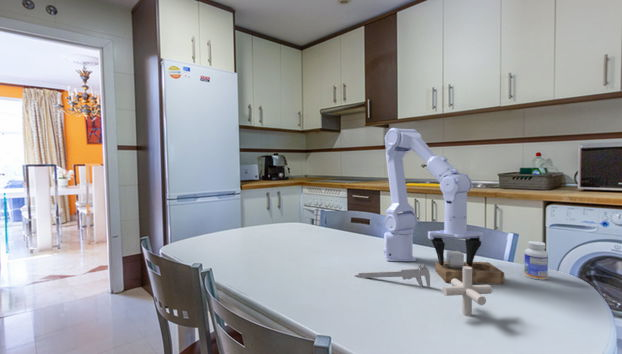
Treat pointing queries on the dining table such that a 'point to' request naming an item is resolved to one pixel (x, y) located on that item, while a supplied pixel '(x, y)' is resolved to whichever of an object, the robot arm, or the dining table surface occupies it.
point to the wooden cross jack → (467, 291)
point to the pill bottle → (536, 261)
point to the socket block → (480, 273)
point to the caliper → (401, 274)
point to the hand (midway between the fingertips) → (455, 264)
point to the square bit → (454, 260)
